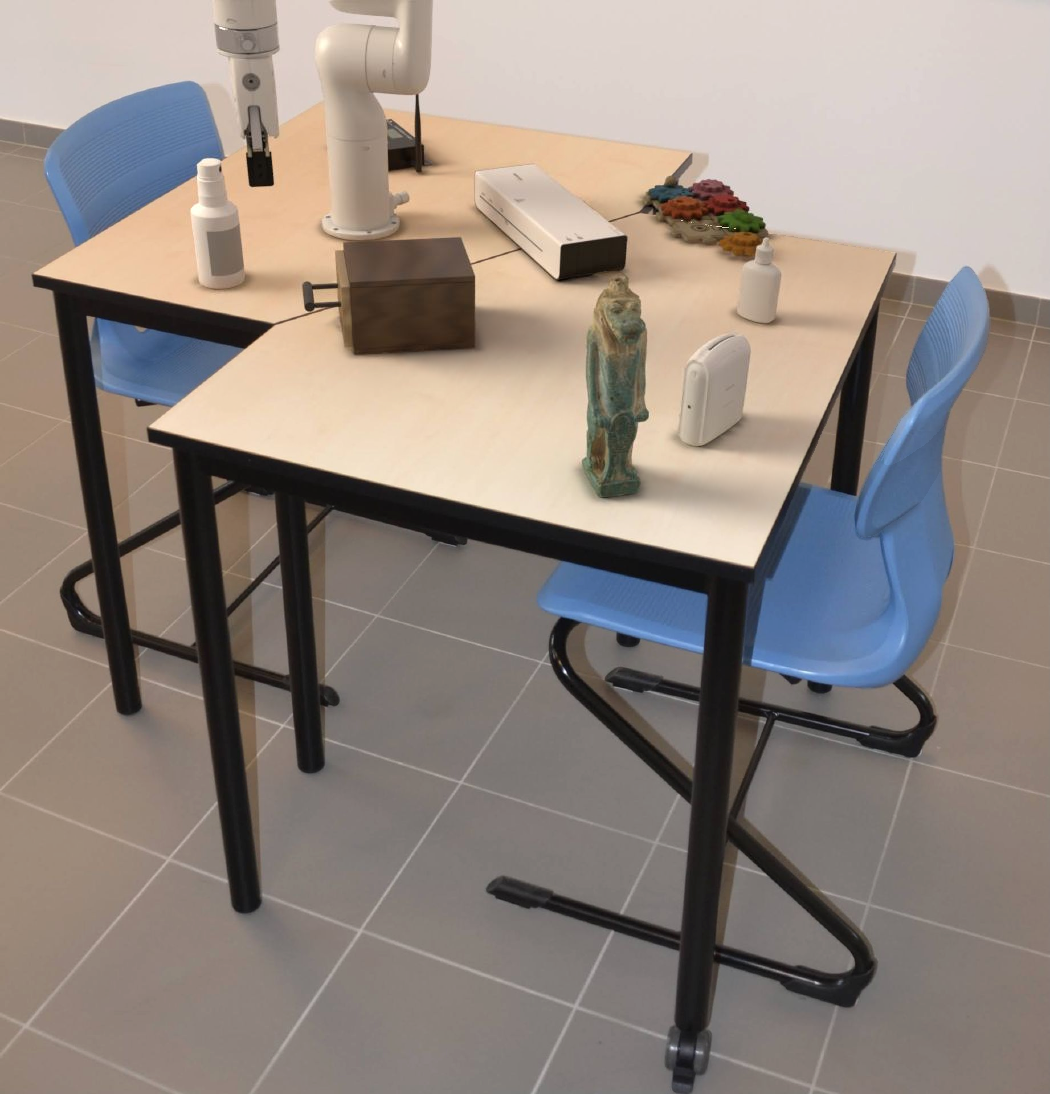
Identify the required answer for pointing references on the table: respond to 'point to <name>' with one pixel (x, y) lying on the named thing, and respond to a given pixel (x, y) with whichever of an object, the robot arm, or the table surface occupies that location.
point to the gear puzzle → (707, 215)
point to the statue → (615, 389)
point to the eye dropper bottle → (759, 286)
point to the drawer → (343, 297)
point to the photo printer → (714, 389)
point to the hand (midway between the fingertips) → (261, 184)
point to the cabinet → (410, 295)
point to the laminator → (549, 222)
